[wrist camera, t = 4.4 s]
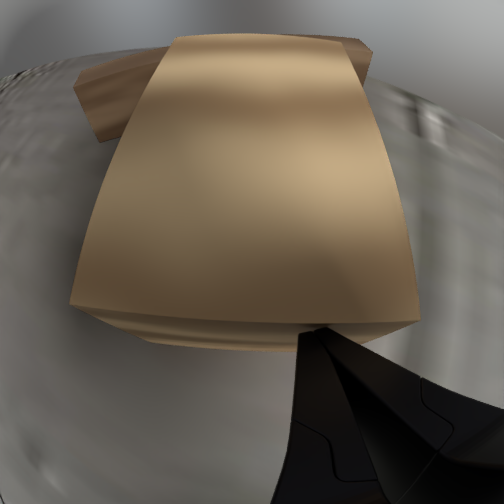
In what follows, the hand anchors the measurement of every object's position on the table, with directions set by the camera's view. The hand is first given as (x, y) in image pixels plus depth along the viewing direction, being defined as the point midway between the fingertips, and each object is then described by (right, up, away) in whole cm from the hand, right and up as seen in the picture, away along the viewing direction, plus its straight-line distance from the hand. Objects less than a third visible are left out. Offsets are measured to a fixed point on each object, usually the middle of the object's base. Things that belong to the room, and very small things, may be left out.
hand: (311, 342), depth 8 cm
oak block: (-2, +5, +10) cm, 11 cm away
